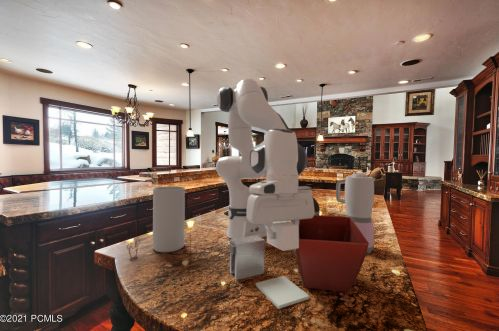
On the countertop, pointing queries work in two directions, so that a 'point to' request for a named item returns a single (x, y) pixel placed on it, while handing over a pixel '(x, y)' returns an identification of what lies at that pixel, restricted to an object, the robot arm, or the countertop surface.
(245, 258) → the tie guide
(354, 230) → the plant pot
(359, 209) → the blender
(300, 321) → the countertop surface
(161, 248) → the cylinder vase
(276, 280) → the sage mat
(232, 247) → the bar
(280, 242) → the off-white cardboard box
